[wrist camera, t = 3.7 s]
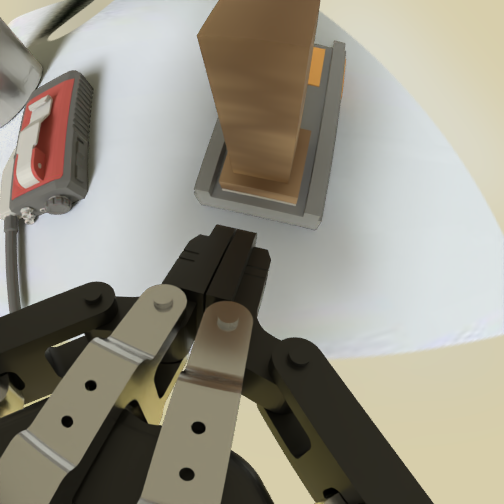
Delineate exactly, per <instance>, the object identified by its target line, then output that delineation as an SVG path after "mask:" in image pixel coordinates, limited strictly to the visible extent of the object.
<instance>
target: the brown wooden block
mask: <svg viewBox="0 0 504 504" xmlns="http://www.w3.org/2000/svg"><path fill="white" fill-rule="evenodd" d="M319 6H320V0H219V1H218V3H217V4H216V6H215V7H214V9H213V10H212V12H211V13H210V15H209V16H208V18H207V20H206V21H205V23H204V24H203V26H202V28H201V29H200V31H199V33H198V34H197V38H198V42H199V46H200V49H201V53H202V57H203V61H204V64H205V68H206V72H207V76H208V79H209V83H210V87H211V91H212V94H213V98H214V102H215V106H216V109H217V113H218V117H219V121H220V124H221V128H222V132H223V136H224V139H225V143H226V147H227V151H228V153H227V156H226V159H225V162H224V165H223V169H222V172H221V175H220V179H219V183H220V186H221V188H223V189H228V190H233V191H238V192H242V193H247V194H252V195H257V196H261V197H266V198H271V199H275V200H280V201H284V202H288V203H293V204H296V203H297V199H298V195H299V190H300V185H301V181H302V176H303V171H304V166H305V161H306V156H307V151H308V146H309V141H310V136H311V131H310V130H306V129H301V128H300V126H301V121H302V115H303V109H304V103H305V97H306V91H307V85H308V79H309V73H310V66H311V60H312V54H313V47H314V41H315V34H316V27H317V20H318V14H319Z"/></svg>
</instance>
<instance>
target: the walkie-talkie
mask: <svg viewBox="0 0 504 504" xmlns="http://www.w3.org/2000/svg"><path fill="white" fill-rule="evenodd" d="M92 90H93V88H92V87H91V85H90V84H89V83H88V81H87V80H86V79H85V78H84V76H83V75H82V74H81V73H79V72H77V71H76V70H75V71H69V72H67V73H65V74H63V75H61V76H59V77H57V78H55V79H53V80H52V81H50V82H48V83H46V84H44V85H43V86H41V87H39V88H38V89H36V90H34V91H33V92H32V93H31V95H30V97H29V99H28V100H27V102H26V104H25V108H24V112H23V116H22V121H21V126H20V131H19V136H18V141H17V146H16V149H14V151H13V153H12V155H11V156H10V158H9V160H8V162H7V164H6V166H5V168H4V170H3V174H2V181H1V190H0V219H2V220H4V232H5V233H6V234H5V252H6V278H7V291H8V302H9V311H10V313H12V312H15V311H17V310H20V309H21V305H20V296H19V285H18V270H17V232H18V219H21V218H23V219H25V224H28V225H29V224H33V223H34V219H35V217H37V216H39V215H42V214H44V213H49V214H54V215H57V214H65V213H67V212H68V211H70V210H71V207H72V203H73V202H76V201H78V200H81V199H84V198H85V196H86V194H87V192H88V147H89V142H88V138H89V136H88V133H89V127H90V125H89V122H90V120H89V118H90V117H91V115H90V112H91V110H90V108H91V103H92V101H91V99H92V94H93V92H92Z"/></svg>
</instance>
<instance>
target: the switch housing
mask: <svg viewBox="0 0 504 504" xmlns="http://www.w3.org/2000/svg"><path fill="white" fill-rule="evenodd" d="M345 56H346V51H345V43H342V42H338V41H334V44H333V48H331V47H326V46H322V45H317V44H314V47H313V54H312V60H311V66H310V73H309V79H308V85H307V91H306V97H305V103H304V109H303V115H302V121H301V126H300V128H301V129H306V130H310V131H311V136H310V141H309V146H308V151H307V156H306V161H305V166H304V171H303V176H302V181H301V185H300V190H299V195H298V199H297V203H296V204H293V203H288V202H284V201H280V200H275V199H271V198H266V197H261V196H257V195H252V194H247V193H242V192H238V191H233V190H228V189H223V188H221V186H220V183H219V179H220V175H221V172H222V169H223V165H224V162H225V159H226V156H227V153H228V151H227V147H226V143H225V139H224V136H223V132H222V128H221V124H220V121H219V117H218V119H217V122H216V125H215V128H214V130H213V133H212V136H211V139H210V142H209V145H208V148H207V151H206V153H205V156H204V159H203V162H202V165H201V169H200V172H199V175H198V178H197V181H196V184H195V187H194V190H195V191H194V195H195V196H196V198H197V199H198V201H199V202H200V203H201V205H205V206H210V207H215V208H219V209H224V210H229V211H234V212H238V213H243V214H247V215H252V216H256V217H261V218H265V219H270V220H274V221H279V222H283V223H287V224H292V225H296V226H300V227H304V228H309V229H313V230H316V229H317V227H318V226H319V224H320V223H321V221H322V216H323V210H324V205H325V199H326V194H327V188H328V182H329V176H330V170H331V164H332V158H333V152H334V145H335V138H336V131H337V124H338V117H339V109H340V102H341V98H342V91H343V83H344V73H345V64H346V59H345Z"/></svg>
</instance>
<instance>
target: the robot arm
mask: <svg viewBox="0 0 504 504" xmlns="http://www.w3.org/2000/svg"><path fill="white" fill-rule="evenodd" d="M41 75H42V66H41V64H40V63H39V62H38V61H37V60H36V58H35V57H34V56H33V55H32V54H31V53H30V52H29V50H28V49H27V48H26V47H25V46H24V44H23V43H22V42H21V41H20V40H19V39H18V37H17V36H16V35H15V34H14V33H13V32H12V30H11V29H10V28H9V27H8V26H7V25H6V24H5V22H4V21H3V20H2V19H1V18H0V127H2V126H3V125H5V124H6V123H8V122H9V121H10V120H11V119H12V118H13V117H14V116H15V115H16V114H17V113H18V112H19V111H20V110H21V109H22V107H23V106H24V105H25V104H26V102H27V100H28V99H29V97H30V95H31V93H32V92H33V91H34V90H35V89H36V87H37V85H38V83H39V81H40V78H41ZM256 238H257V233H253V232H249V231H245V230H240V229H237V230H236V229H235V228H231V227H226V226H222V225H216V226H215V228H214V229H213V231H212V233H211V234H210V236H205V235H201V234H200V235H198V236H197V237H195V238H193V239H192V240H190V241H189V243H188V244H187V246H186V247H185V249H184V251H183V252H182V253H181V255H180V256H179V259H177V261H176V262H175V264H174V265H173V267H172V268H171V270H170V271H169V273H168V275H167V276H166V278H165V279H164V281H163V282H162V284H160V285H155V286H152V287H150V288H148V289H147V290H146V291H145V292H144V293H143V294H142V295H141V296H140V297H117V296H115V292H114V290H113V288H112V287H111V286H110V285H108V284H106V283H104V282H90V283H87V284H84V285H82V286H79V287H76V288H74V289H71V290H68V291H66V292H63V293H61V294H58V295H55V296H53V297H50V298H48V299H45V300H43V301H40V302H38V303H35V304H32V305H30V306H27V307H25V308H22V309H20V310H17V311H15V312H12V313H10V314H7V315H5V316H3V317H0V504H274V502H273V501H272V499H271V497H270V495H269V493H268V491H267V490H266V488H265V486H264V485H263V482H262V480H261V479H260V477H259V475H258V474H257V473H256V471H255V470H254V469H253V468H252V467H251V465H250V464H249V463H248V462H247V461H245V460H244V459H243V458H242V457H241V456H239V455H238V454H236V453H235V452H233V451H232V450H231V446H232V441H233V436H234V430H235V425H236V419H237V414H238V409H239V403H240V397H241V394H242V395H243V396H245V397H247V398H248V399H250V400H252V401H253V402H255V403H257V407H258V409H259V411H260V413H261V415H262V416H263V418H264V420H265V422H266V423H267V425H268V427H269V428H270V430H271V432H272V434H273V435H274V437H275V439H276V440H277V442H278V444H279V445H280V447H281V449H282V450H283V452H284V454H285V455H286V457H287V459H288V460H289V462H290V463H291V465H292V467H293V468H294V470H295V471H296V473H297V475H298V476H299V478H300V479H301V481H302V482H303V484H304V486H305V487H306V489H307V490H308V492H309V493H310V495H311V496H312V498H313V499H314V501H315V502H316V503H315V504H434V503H433V502H432V501H431V499H430V498H429V497H428V495H427V494H426V493H425V491H424V490H423V489H422V487H421V486H420V485H419V483H418V482H417V481H416V479H415V478H414V476H413V475H412V474H411V472H410V471H409V470H408V468H407V467H406V466H405V464H404V463H403V462H402V460H401V459H400V458H399V456H398V455H397V454H396V452H395V451H394V450H393V448H392V447H391V446H390V444H389V443H388V441H387V440H386V439H385V438H384V436H383V435H382V433H381V432H380V431H379V429H378V428H377V427H376V425H375V424H374V423H373V421H372V420H371V419H370V417H369V416H368V414H367V413H366V412H365V410H364V409H363V408H362V406H361V405H360V404H359V403H358V401H357V400H356V398H355V397H354V396H353V394H352V393H351V392H350V390H349V389H348V388H347V386H346V385H345V383H344V382H343V381H342V379H341V378H340V377H339V375H338V374H337V373H336V371H335V370H334V368H333V367H332V366H331V364H330V363H329V362H328V360H327V359H326V358H325V356H324V355H323V354H322V352H321V351H320V349H319V348H318V347H317V346H316V345H315V344H313V343H312V342H310V341H308V340H306V339H303V338H294V337H293V338H287V339H284V340H282V341H281V340H279V339H277V338H275V337H273V336H272V335H270V334H268V333H267V332H266V331H265V330H264V329H263V328H262V327H261V325H260V324H259V322H258V319H257V316H258V312H259V308H260V304H261V301H262V297H263V293H264V289H265V285H266V280H267V276H268V271H269V267H270V262H271V258H270V256H269V253H268V250H266V249H262V248H257V247H255V244H256ZM83 333H84V334H85V336H83V337H80V338H78V339H75V340H73V341H71V342H68V343H66V344H63V345H61V346H58V347H51V346H54V345H56V344H59V343H61V342H63V341H66V340H68V339H71V338H73V337H76V336H78V335H81V334H83ZM193 341H194V344H193ZM192 344H193V348H192V351H191V354H190V357H189V351H190V348H191V346H192ZM188 357H189V360H188ZM187 360H188V363H187V366H186V369H185V370H184V371H182V370H183V368H184V366H185V364H186V362H187ZM175 383H176V384H175ZM174 385H175V387H174ZM173 387H174V390H173V393H172V396H171V399H170V403H169V406H168V409H167V412H166V415H165V418H164V422H163V425H162V426H161V425H159V423H160V421H161V418H162V415H163V408H164V405H165V402H166V400H167V398H168V396H169V394H170V393H171V391H172V389H173ZM49 394H52V395H51V396H50V397H48V398H46V399H43V400H41V401H39V402H36V403H34V404H32V405H30V406H27V407H25V408H24V407H23V406H24V404H27V403H29V402H32V401H35V400H37V399H40V398H42V397H45V396H47V395H49Z"/></svg>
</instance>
